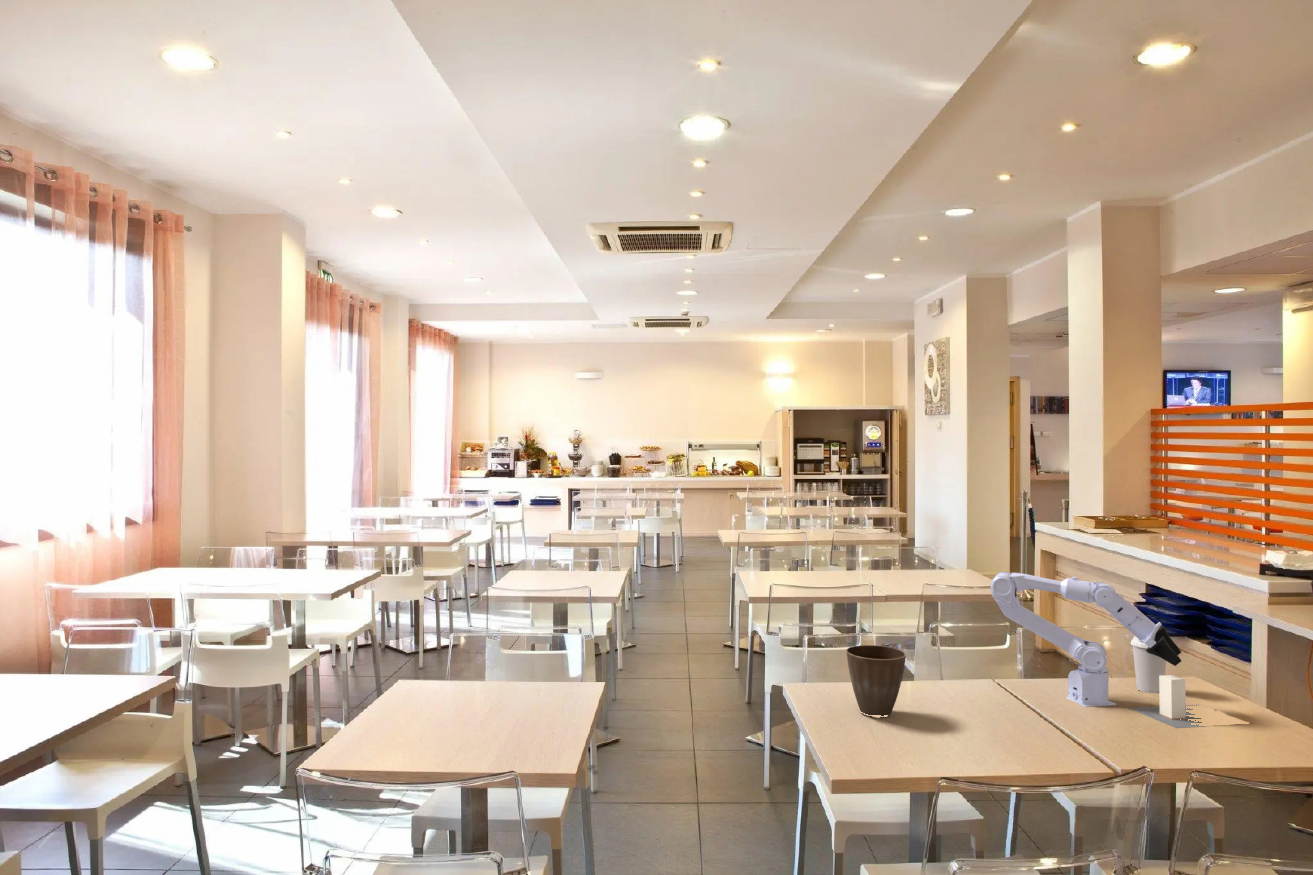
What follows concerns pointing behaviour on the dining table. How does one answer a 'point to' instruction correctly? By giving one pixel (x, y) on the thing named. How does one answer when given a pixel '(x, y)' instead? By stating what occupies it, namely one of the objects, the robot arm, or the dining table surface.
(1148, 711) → the mat
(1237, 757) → the dining table surface
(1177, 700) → the block
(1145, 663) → the coffee cup
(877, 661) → the plant pot
